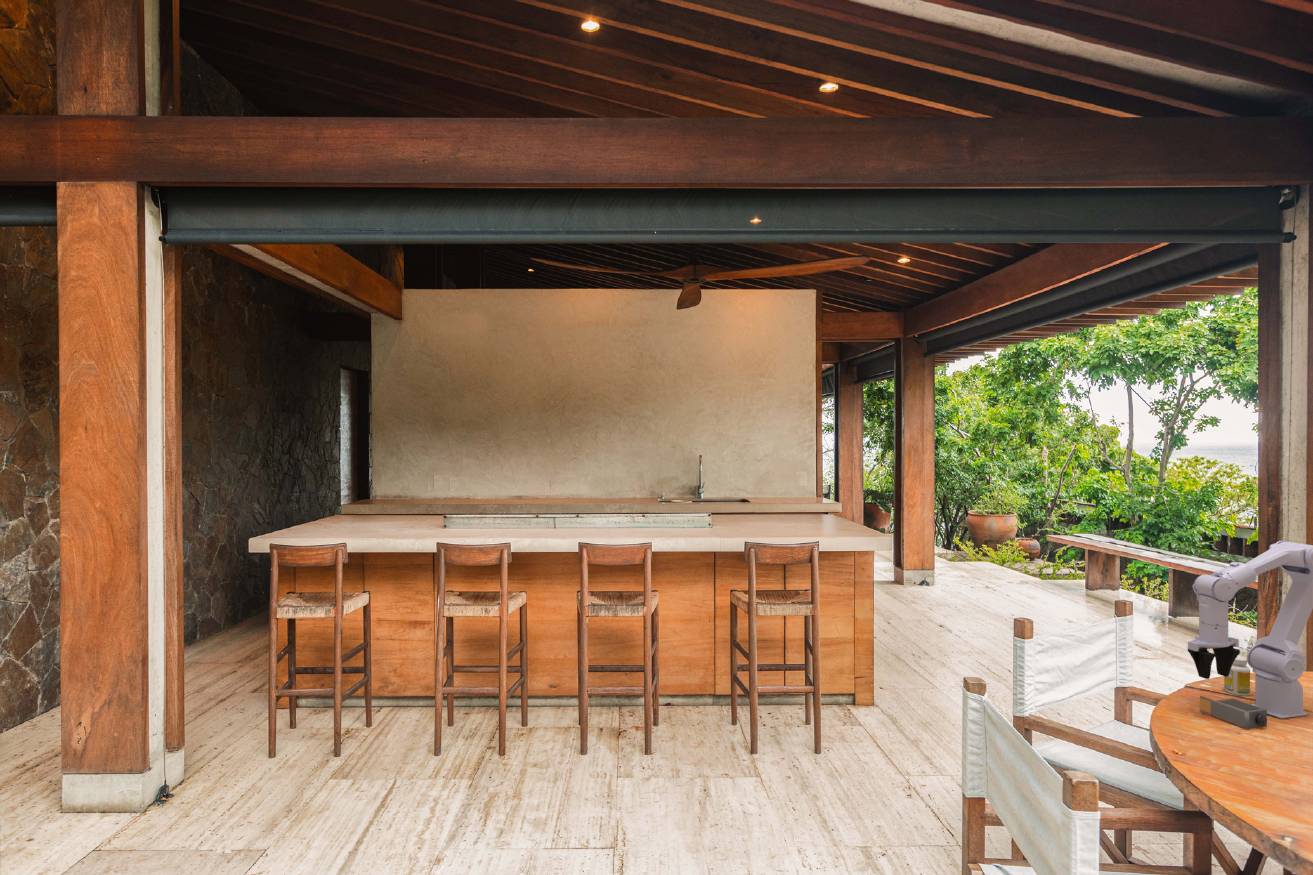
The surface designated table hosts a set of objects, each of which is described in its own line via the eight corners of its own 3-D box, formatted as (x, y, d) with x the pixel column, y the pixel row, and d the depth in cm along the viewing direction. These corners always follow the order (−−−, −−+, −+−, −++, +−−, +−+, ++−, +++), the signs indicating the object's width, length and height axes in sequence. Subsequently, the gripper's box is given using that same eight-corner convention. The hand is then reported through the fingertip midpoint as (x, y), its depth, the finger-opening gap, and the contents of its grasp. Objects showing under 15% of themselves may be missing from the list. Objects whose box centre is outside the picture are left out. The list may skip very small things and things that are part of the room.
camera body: (1232, 713, 168) (1233, 697, 168) (1270, 727, 160) (1270, 710, 160) (1215, 716, 166) (1215, 700, 166) (1252, 730, 158) (1252, 713, 158)
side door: (1202, 710, 169) (1202, 695, 169) (1250, 728, 159) (1250, 712, 159) (1199, 710, 169) (1199, 695, 169) (1247, 729, 158) (1247, 713, 158)
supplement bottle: (1222, 691, 183) (1222, 657, 183) (1226, 687, 186) (1226, 653, 186) (1248, 697, 179) (1248, 662, 179) (1252, 693, 182) (1252, 658, 182)
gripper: (1218, 617, 174) (1217, 668, 174) (1175, 620, 170) (1175, 673, 170) (1247, 624, 167) (1247, 678, 167) (1204, 628, 164) (1204, 683, 163)
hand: (1213, 676), depth 168 cm, fingers open, 6 cm apart
